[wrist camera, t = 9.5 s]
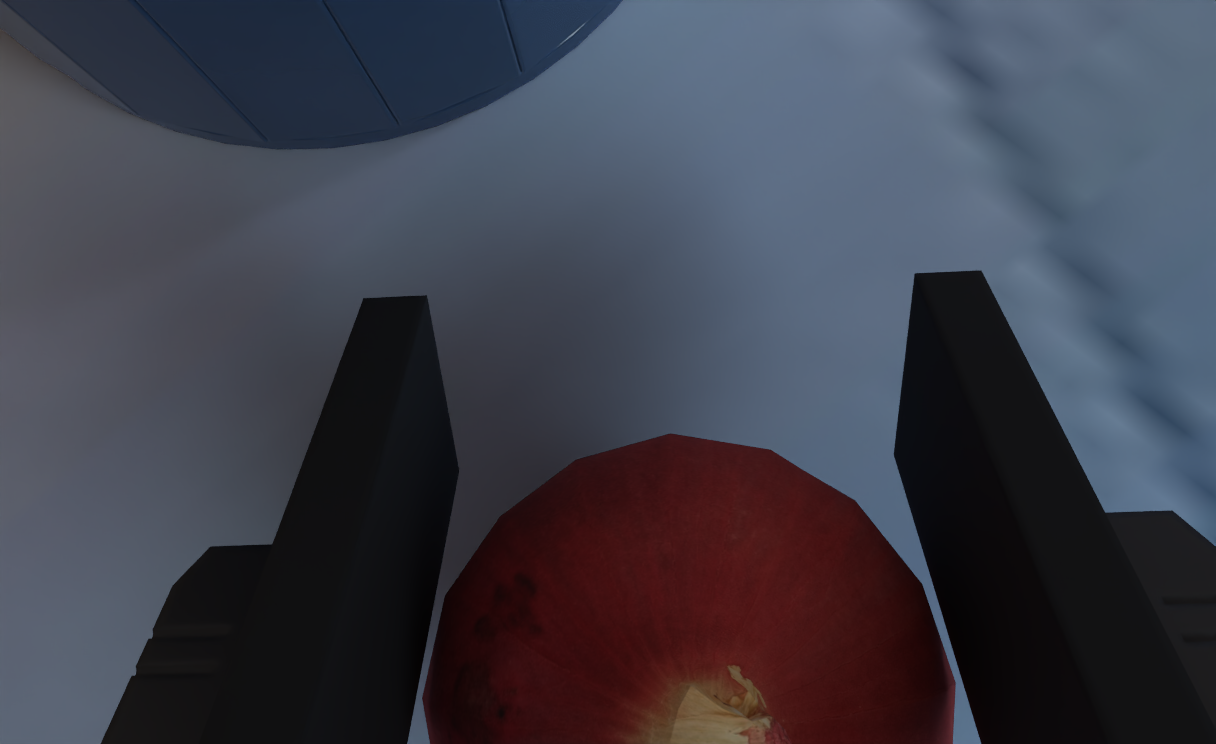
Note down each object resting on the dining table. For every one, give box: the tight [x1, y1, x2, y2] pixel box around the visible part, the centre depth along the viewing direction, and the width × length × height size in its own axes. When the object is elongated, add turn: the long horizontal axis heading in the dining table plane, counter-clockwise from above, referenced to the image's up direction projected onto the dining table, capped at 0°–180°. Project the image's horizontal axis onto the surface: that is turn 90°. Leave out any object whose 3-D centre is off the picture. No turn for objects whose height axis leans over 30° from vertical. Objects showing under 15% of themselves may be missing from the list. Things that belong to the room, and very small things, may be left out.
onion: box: [422, 434, 956, 744], centre depth 12 cm, size 6×6×8 cm
